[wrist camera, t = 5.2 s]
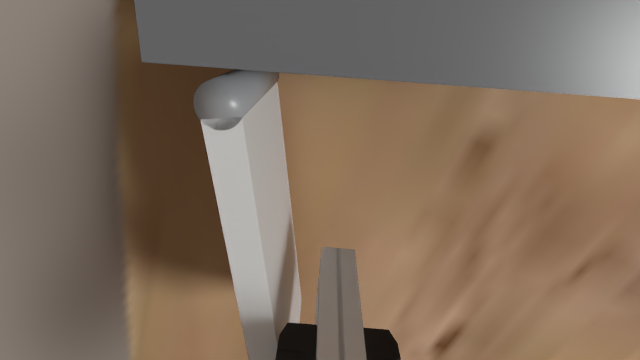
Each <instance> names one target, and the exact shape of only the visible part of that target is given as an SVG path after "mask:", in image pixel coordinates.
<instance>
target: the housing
mask: <svg viewBox="0 0 640 360" xmlns="http://www.w3.org/2000/svg"><path fill="white" fill-rule="evenodd" d="M134 4H135V12H136V20H137V29H138V37H139V45H140V53H141V61H142V62H147V63H160V64H174V65H187V66H200V67H214V68H227V69H241V70H254V71H268V72H281V73H294V74H308V75H321V76H335V77H348V78H361V79H375V80H388V81H402V82H415V83H429V84H442V85H455V86H469V87H482V88H496V89H509V90H522V91H536V92H549V93H563V94H576V95H590V96H603V97H616V98H630V99H640V0H134Z"/></svg>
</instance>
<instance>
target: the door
mask: <svg viewBox="0 0 640 360" xmlns="http://www.w3.org/2000/svg"><path fill="white" fill-rule="evenodd" d="M278 79H279V72H268V71H254V70H241V69H235V70H232V71H230V72H227V73H225V74H222V75H220V76H217V77H215V78H212V79H210V80H208V81H205V82H204V83H202V84H201V85H200V86H199V87H198V88H197V90H196V91H195V94H194V97H193V106H194V110H195V113H196V115H197V117H198V118H199V119H200V121H201V125H202V130H203V135H204V140H205V145H206V150H207V155H208V160H209V165H210V170H211V175H212V180H213V185H214V189H215V194H216V199H217V204H218V209H219V214H220V219H221V224H222V229H223V234H224V239H225V244H226V249H227V254H228V259H229V264H230V269H231V274H232V279H233V284H234V289H235V294H236V299H237V304H238V308H239V313H240V318H241V323H242V328H243V333H244V338H245V343H246V348H247V353H248V358H249V360H275V358H276V352H277V346H278V340H279V334H280V333H281V332H282V330H283V329H284V327H285V326H286V324H287V323H299V322H300V311H301V291H300V282H299V273H298V264H297V255H296V246H295V237H294V228H293V219H292V210H291V201H290V192H289V183H288V174H287V165H286V156H285V147H284V138H283V129H282V120H281V111H280V102H279V93H278V84H277V82H278Z"/></svg>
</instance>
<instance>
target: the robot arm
mask: <svg viewBox="0 0 640 360" xmlns="http://www.w3.org/2000/svg"><path fill="white" fill-rule="evenodd" d="M400 359H401V358H400V353H399V348H398V344H397V342H396V340H395V339H394V337H393V336H392V334H391V333H390V331H389V330H384V329H372V328H363V321H362V312H361V303H360V294H359V284H358V275H357V266H356V256H355V250H354V249H342V248H330V247H322V249H321V259H320V269H319V279H318V288H317V298H316V316H315V325H312V324H300V323H287V324H286V326H285V327H284V329H283V330H282V332H281V333H280V334H279V340H278V346H277V352H276V358H275V360H400Z"/></svg>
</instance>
